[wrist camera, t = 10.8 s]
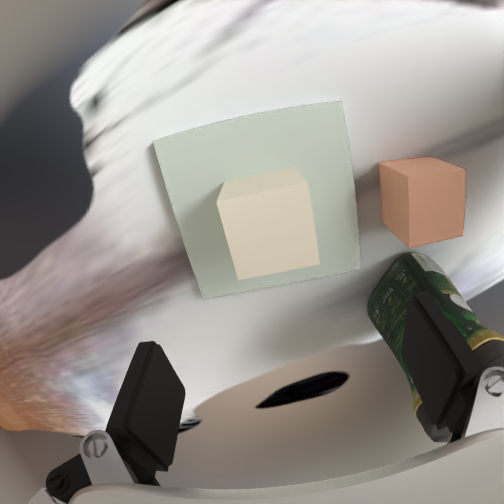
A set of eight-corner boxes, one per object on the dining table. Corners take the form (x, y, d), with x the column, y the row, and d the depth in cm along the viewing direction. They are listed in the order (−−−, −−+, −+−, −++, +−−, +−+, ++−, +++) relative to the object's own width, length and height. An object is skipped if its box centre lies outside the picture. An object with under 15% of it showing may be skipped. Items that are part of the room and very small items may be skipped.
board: (337, 101, 22) (341, 100, 21) (357, 263, 29) (360, 269, 28) (157, 139, 24) (152, 140, 23) (204, 292, 31) (203, 298, 30)
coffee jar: (401, 327, 33) (460, 449, 17) (354, 310, 32) (411, 455, 15) (446, 265, 29) (539, 375, 13) (403, 239, 28) (511, 366, 11)
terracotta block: (429, 156, 24) (465, 169, 19) (431, 212, 27) (462, 235, 21) (377, 162, 25) (408, 176, 19) (382, 221, 27) (408, 248, 22)
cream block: (295, 166, 24) (307, 182, 18) (306, 232, 26) (320, 264, 21) (224, 181, 24) (216, 202, 19) (241, 245, 27) (238, 280, 22)
